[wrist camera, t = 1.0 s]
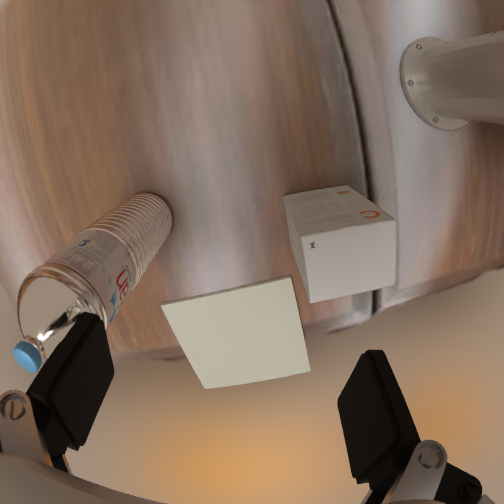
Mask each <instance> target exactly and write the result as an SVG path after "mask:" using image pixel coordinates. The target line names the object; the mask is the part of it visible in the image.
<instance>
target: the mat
mask: <svg viewBox="0 0 504 504" xmlns="http://www.w3.org/2000/svg"><path fill="white" fill-rule="evenodd" d="M161 307H162V309H163V312H164V314H165V316H166V318H167V320H168V322H169V324H170V326H171V328H172V330H173V332H174V333H175V335H176V337H177V339H178V341H179V343H180V345H181V347H182V349H183V351H184V352H185V354H186V356H187V358H188V360H189V362H190V363H191V365H192V367H193V369H194V371H195V372H196V374H197V376H198V377H199V379H200V381H201V383H202V385H203V386H204V388H205V389H209V388H217V387H225V386H232V385H239V384H245V383H252V382H258V381H263V380H269V379H274V378H280V377H285V376H289V375H294V374H299V373H304V372H308V371H311V369H310V364H309V360H308V355H307V350H306V345H305V340H304V335H303V330H302V326H301V321H300V316H299V312H298V307H297V302H296V298H295V293H294V289H293V284H292V280H291V276H290V275H289V276H285V277H281V278H276V279H272V280H268V281H263V282H259V283H255V284H250V285H246V286H241V287H237V288H232V289H228V290H223V291H218V292H214V293H209V294H204V295H200V296H195V297H190V298H185V299H181V300H176V301H171V302H166V303H162V304H161Z"/></svg>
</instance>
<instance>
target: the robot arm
mask: <svg viewBox="0 0 504 504" xmlns="http://www.w3.org/2000/svg"><path fill="white" fill-rule="evenodd" d="M400 73H401V81H402V86H403V89H404V92H405V95H406V97H407V99H408V101H409V103H410V105H411V106H412V108H413V109H414V110H415V112H416V113H417V114H418V115H419V116H420V117H421V118H422V119H423V120H424V121H425V122H427V123H428V124H429V125H431V126H433V127H435V128H438V129H442V130H449V131H450V130H457V129H460V128H462V127H464V126H465V125H467V124H468V122H469V121H470V120H471V121H480V122H488V123H495V124H502V125H504V30H501V31H496V32H491V33H486V34H482V35H477V36H473V37H469V38H465V39H461V40H457V41H454V42H450V43H447V42H446V41H443V40H441V39H438V38H433V37H425V38H422V39H419V40H417V41H414V42H413V43H411V44H410V45H409V46H408V47H407V49H406V50H405V52H404V54H403V57H402V60H401V67H400ZM408 83H409V85H408ZM113 376H114V366H113V362H112V358H111V354H110V349H109V345H108V340H107V335H106V330H105V325H104V321H103V320H102V319H100V316H99V315H97V314H93V313H89V312H83V313H82V314H81V315H80V316H79V318H78V319H77V321H76V322H75V323H74V325H73V326H72V327H71V329H70V330H69V332H68V333H67V334H66V336H65V337H64V339H63V340H62V341H61V342H60V343H59V344H58V345H57V346H56V348H55V349H54V350H53V352H52V353H51V355H50V356H49V358H48V359H47V361H46V362H45V364H44V365H43V367H42V368H41V370H40V371H39V373H38V374H37V376H36V378H35V379H34V381H33V382H32V384H31V385H30V387H29V389H28V390H27V392H26V394H25V393H24V392H22V391H19V390H9V391H7V392H5V393H3V394H2V395H1V396H0V504H165V503H161V502H157V501H152V500H148V499H144V498H140V497H136V496H133V495H129V494H125V493H122V492H118V491H116V490H113V489H109V488H106V487H103V486H100V485H98V484H95V483H92V482H89V481H86V480H84V479H81V478H78V477H76V476H73V474H72V472H71V469H70V467H69V464H68V462H67V459H66V457H65V452H66V450H67V447H69V448H71V449H74V450H76V451H78V449H79V447H80V446H83V445H84V444H85V442H86V440H87V437H88V435H89V432H90V430H91V427H92V425H93V423H94V420H95V418H96V415H97V413H98V411H99V408H100V406H101V404H102V401H103V399H104V397H105V395H106V392H107V390H108V388H109V386H110V383H111V381H112V379H113ZM338 410H339V414H340V419H341V424H342V428H343V433H344V438H345V443H346V447H347V453H348V458H349V463H350V468H351V473H352V476H353V478H356V480H357V484H361V483H368V482H369V486H370V490H369V492H368V493H367V495H366V496H365V498H364V500H363V501H362V502H361V504H495V503H494V502H493V501H492V500H491V499H490V498H489V497H488V496H487V495H486V494H485V495H483V496H482V486H481V483H480V482H479V480H478V479H477V478H476V477H474V476H472V475H470V474H468V473H466V472H464V471H462V470H461V469H459V468H457V467H455V466H453V465H451V464H449V463H448V462H447V453H446V451H445V449H444V447H443V446H442V445H441V444H439V443H438V442H437V441H433V440H424V441H422V442H421V440H420V438H419V435H418V432H417V430H416V427H415V424H414V422H413V419H412V417H411V414H410V412H409V409H408V406H407V404H406V402H405V399H404V397H403V394H402V392H401V389H400V387H399V385H398V383H397V381H396V378H395V376H394V373H393V371H392V369H391V366H390V364H389V362H388V360H387V357H386V355H385V353H384V352H383V350H367V351H366V352H365V353H364V354H362V355H361V357H360V358H359V360H358V363H357V364H356V366H355V368H354V370H353V372H352V374H351V376H350V378H349V379H348V381H347V383H346V385H345V387H344V389H343V390H342V392H341V394H340V396H339V398H338Z"/></svg>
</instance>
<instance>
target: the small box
mask: <svg viewBox="0 0 504 504" xmlns="http://www.w3.org/2000/svg"><path fill="white" fill-rule="evenodd" d="M283 201H284V207H285V213H286V219H287V225H288V231H289V238H290V244H291V247H292V250H293V254H294V257H295V260H296V263H297V266H298V269H299V272H300V275H301V278H302V281H303V284H304V287H305V290H306V293H307V296H308V299H309V302H310V303H311V304H312V303H317V302H322V301H327V300H332V299H336V298H341V297H345V296H350V295H355V294H359V293H364V292H368V291H372V290H376V289H381V288H385V287H389V286H394V285H395V271H396V247H397V220H396V219H394V218H393V217H391V216H390V215H389V214H387V213H386V212H385V211H383V210H382V209H381V208H379V207H378V206H377V205H375V204H374V203H372V202H371V201H370V200H368V199H367V198H365V197H364V196H363V195H361V194H360V193H358V192H357V191H355V190H354V189H352V188H351V187H350V186H348V185H343V186H337V187H330V188H324V189H318V190H312V191H306V192H300V193H295V194H290V195H284V196H283Z"/></svg>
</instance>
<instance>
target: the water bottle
mask: <svg viewBox="0 0 504 504" xmlns="http://www.w3.org/2000/svg"><path fill="white" fill-rule="evenodd" d="M172 222H173V219H172V213H171V210H170V208H169V206H168V205H167V203H166V202H165V201H164V200H163V199H162V198H161V197H159V196H157V195H155V194H152V193H138V194H135V195H133V196H131V197H129V198H128V199H126V200H125V201H123V202H122V203H120V204H119V205H117V206H116V207H114V208H113V209H112V210H110V211H109V212H107V213H106V214H104V215H103V216H102V217H100V218H99V219H97V220H96V221H95V222H93V223H92V224H91V225H89V226H88V227H86V228H85V229H84V230H82V231H81V232H80V233H79V234H78V235H77V236H76V237H75V238H74V239H73V240H72V241H71V242H69V243H68V244H67V245H66V246H64V247H63V248H62V249H61V250H60V251H58V252H57V253H56V254H55V255H53V256H52V257H51V258H50V259H49V260H48V261H46V262H45V263H44V264H43V265H40V266H38V267H37V268H35V269H34V270H33V271H32V272H31V273H29V274H28V275H27V276H26V277H25V279H24V280H23V282H22V284H21V286H20V289H19V293H18V301H17V315H18V322H19V326H20V330H21V332H22V335H23V337H24V339H21V340H20V342H19V343H18V344H17V345H16V346H15V348H14V349H13V355H14V357H15V359H16V361H17V362H18V363H19V365H20V366H21V367H23V368H24V369H25V370H27V371H28V372H32V373H36V372H37V371H38V370H39V368H40V366H41V364H42V363H43V362H44V358H45V359H48V358H49V356H50V355H51V353H52V352H53V350H54V349H55V348H56V346H57V345H58V344H59V343H60V342H61V341H62V340H63V339H64V337H65V336H66V334H67V333H68V332H69V330H70V329H71V327H72V326H73V325H74V323H75V322H76V321H77V319H78V318H79V316H80V315H81V314H82V313H83V312H89V313H93V314H97V315H99V316H100V319H102V320H103V321H104V325H105V330H106V332H107V328H108V327H109V325H110V323H111V322H112V320H113V319H114V317H115V315H116V314H117V312H118V310H119V309H120V307H121V306H122V304H123V302H124V301H125V299H126V298H127V296H128V295H129V293H130V292H131V291H132V290H133V289H134V288H135V286H136V284H137V283H138V281H139V280H140V278H141V277H142V275H143V273H144V272H145V270H146V269H147V267H148V266H149V264H150V263H151V261H152V260H153V258H154V257H155V255H156V254H157V252H158V251H159V249H160V248H161V246H162V245H163V243H164V242H165V240H166V239H167V237H168V236H169V234H170V231H171V228H172Z"/></svg>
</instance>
